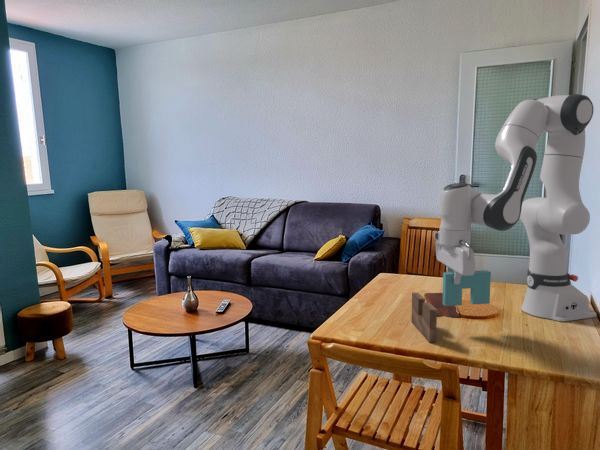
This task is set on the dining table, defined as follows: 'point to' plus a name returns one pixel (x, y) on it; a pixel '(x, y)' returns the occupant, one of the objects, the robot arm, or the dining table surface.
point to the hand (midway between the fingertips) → (453, 282)
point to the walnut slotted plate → (424, 317)
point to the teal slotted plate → (475, 282)
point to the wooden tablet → (441, 305)
